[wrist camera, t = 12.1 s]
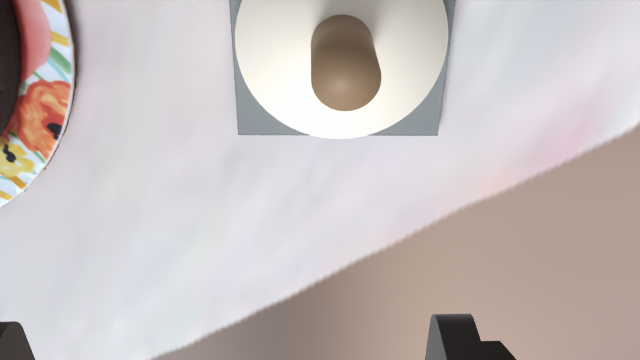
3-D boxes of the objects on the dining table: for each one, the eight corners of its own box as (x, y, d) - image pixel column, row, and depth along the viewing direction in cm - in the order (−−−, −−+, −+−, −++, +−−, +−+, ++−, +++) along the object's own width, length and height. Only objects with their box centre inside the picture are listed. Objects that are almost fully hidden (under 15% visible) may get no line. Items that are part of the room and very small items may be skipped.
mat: (225, -83, 29) (223, -80, 29) (462, -80, 30) (465, -78, 29) (239, 130, 36) (238, 135, 35) (435, 130, 36) (437, 135, 35)
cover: (230, -74, 29) (214, -49, 24) (457, -71, 29) (486, -47, 25) (242, 130, 35) (232, 181, 30) (432, 130, 35) (451, 181, 30)
